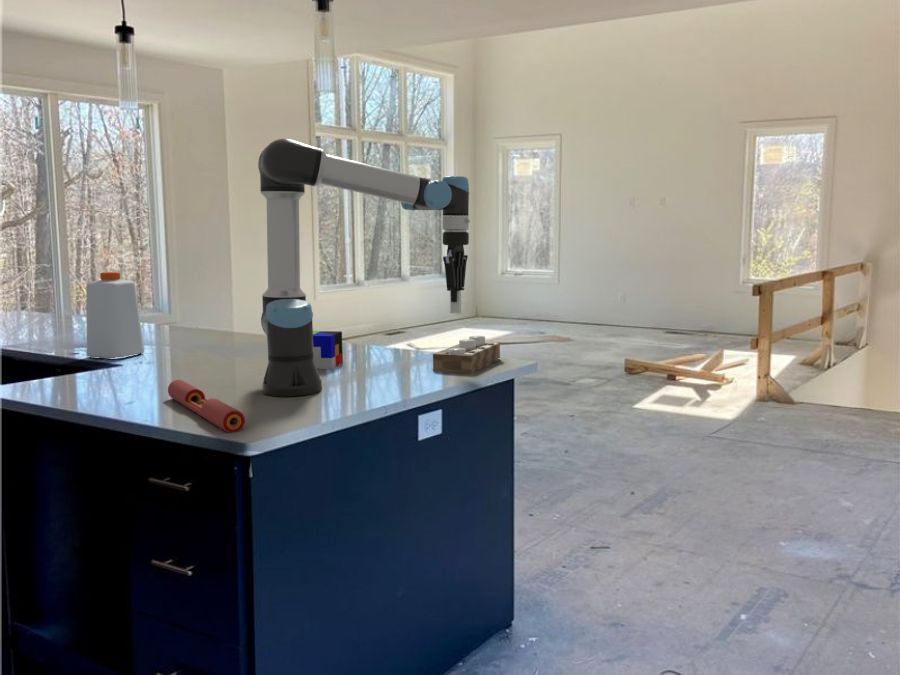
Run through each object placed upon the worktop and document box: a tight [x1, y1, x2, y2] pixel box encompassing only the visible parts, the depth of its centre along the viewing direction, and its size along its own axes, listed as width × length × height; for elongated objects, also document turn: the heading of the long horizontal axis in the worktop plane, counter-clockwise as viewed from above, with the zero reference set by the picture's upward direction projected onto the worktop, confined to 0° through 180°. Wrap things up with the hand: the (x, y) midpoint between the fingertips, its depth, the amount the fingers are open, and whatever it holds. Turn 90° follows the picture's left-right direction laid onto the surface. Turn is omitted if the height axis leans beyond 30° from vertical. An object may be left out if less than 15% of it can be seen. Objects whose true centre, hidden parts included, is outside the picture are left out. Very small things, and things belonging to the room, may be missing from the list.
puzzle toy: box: [313, 330, 344, 370], centre depth 249 cm, size 10×10×10 cm
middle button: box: [458, 338, 476, 351], centre depth 247 cm, size 5×5×4 cm
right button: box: [468, 335, 486, 347], centre depth 254 cm, size 5×5×4 cm
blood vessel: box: [167, 379, 246, 434], centre depth 189 cm, size 42×5×5 cm, turn 34°
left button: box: [449, 348, 466, 355], centre depth 239 cm, size 5×5×4 cm
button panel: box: [432, 342, 501, 374], centre depth 247 cm, size 24×12×6 cm, turn 157°
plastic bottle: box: [85, 271, 145, 358], centre depth 272 cm, size 15×15×28 cm
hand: (455, 313), depth 238 cm, fingers closed
